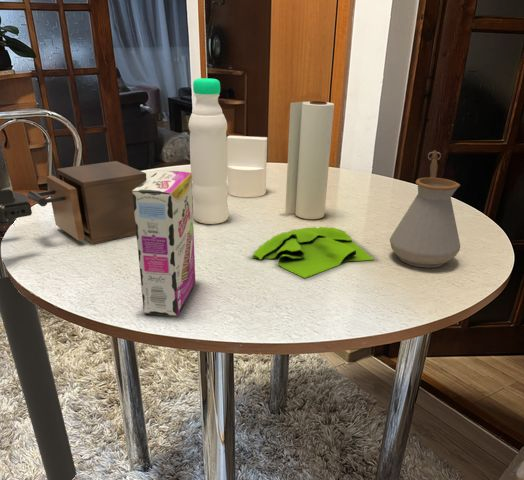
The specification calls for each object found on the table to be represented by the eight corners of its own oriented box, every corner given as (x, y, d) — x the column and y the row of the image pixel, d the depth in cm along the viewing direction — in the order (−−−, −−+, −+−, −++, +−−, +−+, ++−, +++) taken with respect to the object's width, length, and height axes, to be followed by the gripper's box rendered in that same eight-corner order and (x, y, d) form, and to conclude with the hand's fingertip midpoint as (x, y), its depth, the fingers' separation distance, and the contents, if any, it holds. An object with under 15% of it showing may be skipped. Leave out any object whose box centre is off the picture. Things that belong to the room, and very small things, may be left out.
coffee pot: (459, 276, 81) (483, 180, 73) (385, 267, 84) (401, 173, 76) (450, 233, 99) (468, 151, 91) (390, 227, 101) (402, 147, 93)
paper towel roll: (329, 215, 107) (340, 102, 95) (314, 222, 103) (323, 105, 91) (300, 208, 110) (308, 98, 99) (284, 214, 106) (290, 101, 95)
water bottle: (235, 220, 102) (235, 79, 89) (207, 227, 98) (202, 81, 85) (213, 211, 107) (209, 76, 93) (186, 218, 102) (178, 78, 89)
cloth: (347, 229, 99) (349, 217, 98) (386, 275, 81) (389, 261, 80) (243, 232, 97) (243, 219, 95) (259, 280, 78) (259, 265, 77)
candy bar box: (179, 317, 68) (171, 192, 59) (143, 315, 68) (129, 190, 59) (198, 282, 77) (193, 170, 68) (165, 280, 77) (156, 168, 69)
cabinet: (92, 244, 89) (82, 182, 84) (66, 226, 97) (56, 168, 91) (151, 231, 96) (146, 173, 90) (123, 215, 103) (116, 160, 98)
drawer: (52, 246, 86) (41, 193, 81) (30, 229, 92) (19, 179, 88) (133, 229, 94) (128, 180, 89) (108, 214, 100) (102, 168, 96)
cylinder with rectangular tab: (268, 188, 124) (269, 135, 117) (263, 198, 116) (264, 142, 110) (231, 185, 124) (231, 133, 118) (224, 195, 117) (223, 140, 110)
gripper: (-92, 231, 82) (12, 213, 91) (-73, 258, 73) (41, 235, 82) (-109, 183, 78) (2, 169, 87) (-91, 205, 69) (31, 187, 78)
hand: (21, 201), depth 84 cm, fingers open, 8 cm apart
